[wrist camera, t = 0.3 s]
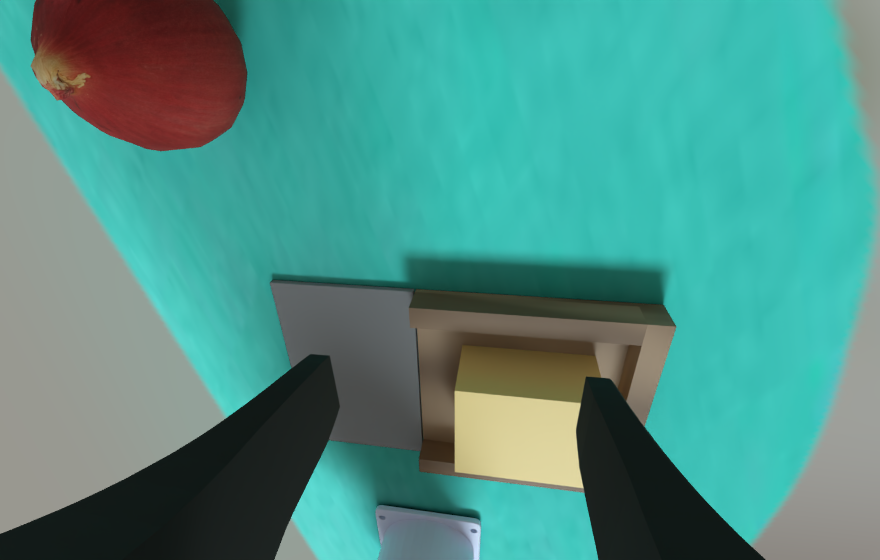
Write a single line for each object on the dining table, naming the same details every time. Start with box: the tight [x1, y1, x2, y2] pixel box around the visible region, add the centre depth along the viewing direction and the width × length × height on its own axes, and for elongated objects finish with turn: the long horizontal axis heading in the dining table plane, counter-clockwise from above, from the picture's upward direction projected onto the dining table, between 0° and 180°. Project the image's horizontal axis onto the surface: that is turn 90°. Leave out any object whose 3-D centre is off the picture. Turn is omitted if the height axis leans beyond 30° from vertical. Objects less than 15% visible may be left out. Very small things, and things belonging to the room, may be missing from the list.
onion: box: [31, 0, 247, 151], centre depth 14 cm, size 6×6×8 cm
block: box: [455, 345, 601, 488], centre depth 22 cm, size 6×7×4 cm
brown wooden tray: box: [409, 289, 676, 493], centre depth 23 cm, size 12×12×2 cm
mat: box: [270, 280, 423, 451], centre depth 25 cm, size 12×8×1 cm, turn 1°
